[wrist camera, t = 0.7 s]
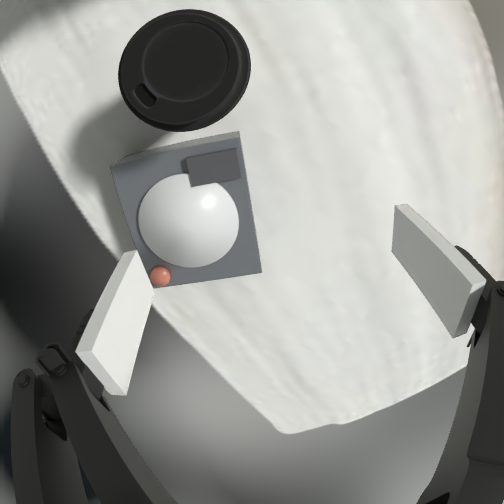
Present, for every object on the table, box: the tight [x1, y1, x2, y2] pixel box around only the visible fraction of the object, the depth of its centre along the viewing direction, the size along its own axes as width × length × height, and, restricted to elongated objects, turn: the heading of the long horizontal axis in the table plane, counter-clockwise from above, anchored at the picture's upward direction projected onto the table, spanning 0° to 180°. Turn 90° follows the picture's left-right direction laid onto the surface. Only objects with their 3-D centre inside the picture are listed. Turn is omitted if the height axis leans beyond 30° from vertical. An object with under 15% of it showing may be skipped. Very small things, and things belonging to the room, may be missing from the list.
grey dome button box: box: [110, 131, 262, 288], centre depth 34 cm, size 16×14×6 cm
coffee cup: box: [118, 9, 251, 132], centre depth 22 cm, size 9×9×15 cm
